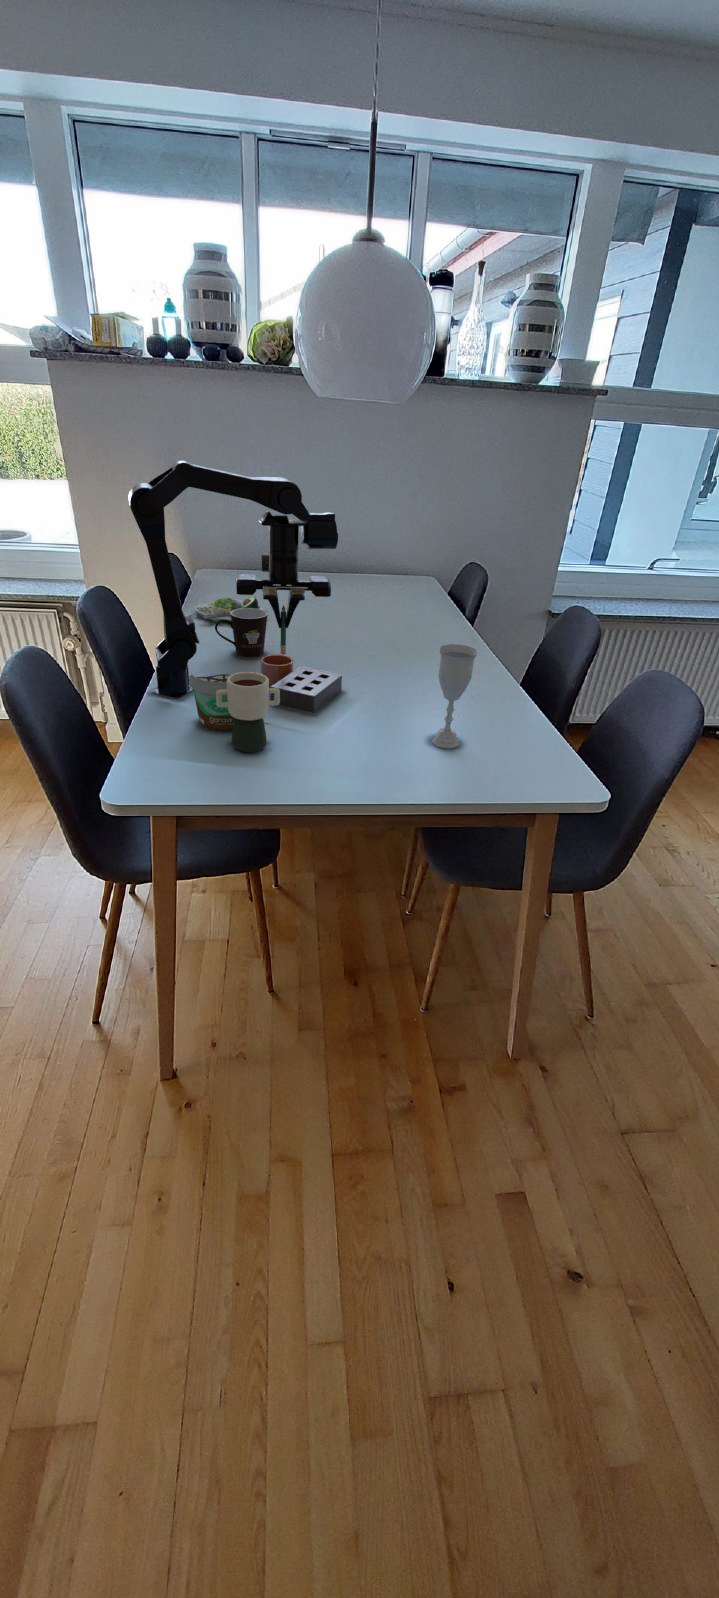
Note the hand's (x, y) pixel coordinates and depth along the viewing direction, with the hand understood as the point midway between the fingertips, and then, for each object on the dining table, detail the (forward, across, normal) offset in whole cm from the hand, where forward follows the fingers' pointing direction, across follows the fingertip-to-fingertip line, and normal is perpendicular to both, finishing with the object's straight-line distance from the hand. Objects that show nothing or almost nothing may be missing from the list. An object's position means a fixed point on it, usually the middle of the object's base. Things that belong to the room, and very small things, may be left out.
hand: (283, 627), depth 142 cm
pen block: (+13, -5, +7) cm, 15 cm away
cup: (+13, +1, -2) cm, 13 cm away
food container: (+13, +12, +21) cm, 27 cm away
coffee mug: (+13, +9, -20) cm, 26 cm away
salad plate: (+13, +12, -53) cm, 56 cm away
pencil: (+6, 0, 0) cm, 6 cm away
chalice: (+13, -30, +28) cm, 42 cm away
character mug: (+13, +7, +29) cm, 33 cm away
